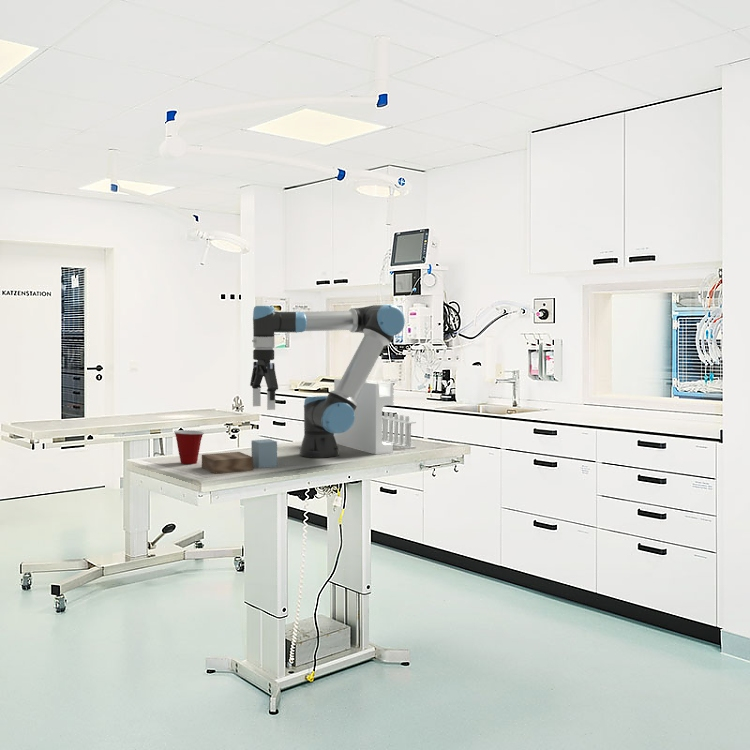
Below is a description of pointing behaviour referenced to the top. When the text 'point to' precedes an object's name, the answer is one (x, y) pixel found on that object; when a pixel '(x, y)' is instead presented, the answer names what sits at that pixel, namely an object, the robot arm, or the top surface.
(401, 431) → the test tube rack
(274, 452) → the slate block
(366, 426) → the block
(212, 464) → the walnut block
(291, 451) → the top surface
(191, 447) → the plastic cup
